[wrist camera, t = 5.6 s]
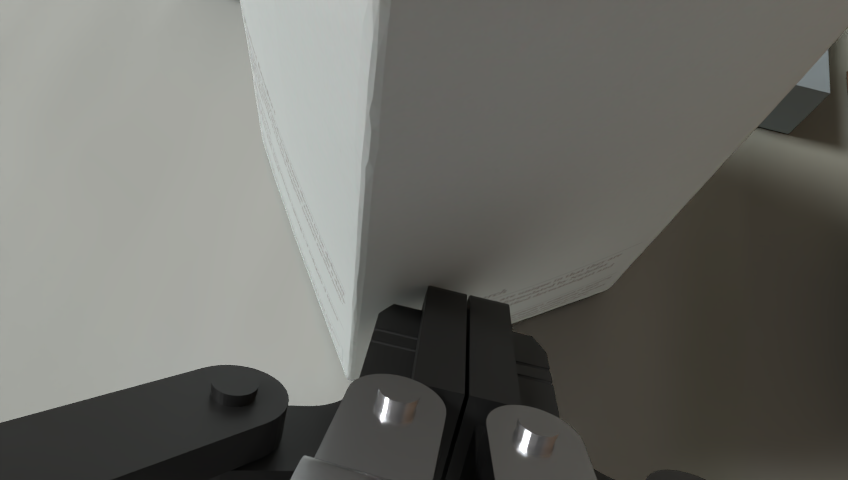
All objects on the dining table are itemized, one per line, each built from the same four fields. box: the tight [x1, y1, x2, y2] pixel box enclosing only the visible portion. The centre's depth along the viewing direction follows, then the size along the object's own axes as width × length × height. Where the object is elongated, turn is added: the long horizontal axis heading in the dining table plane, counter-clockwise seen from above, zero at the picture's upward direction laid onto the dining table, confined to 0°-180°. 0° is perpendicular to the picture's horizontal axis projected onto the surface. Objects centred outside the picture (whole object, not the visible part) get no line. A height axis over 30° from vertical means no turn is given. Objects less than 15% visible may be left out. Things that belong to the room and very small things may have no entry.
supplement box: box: [240, 0, 848, 381], centre depth 13 cm, size 7×7×13 cm
